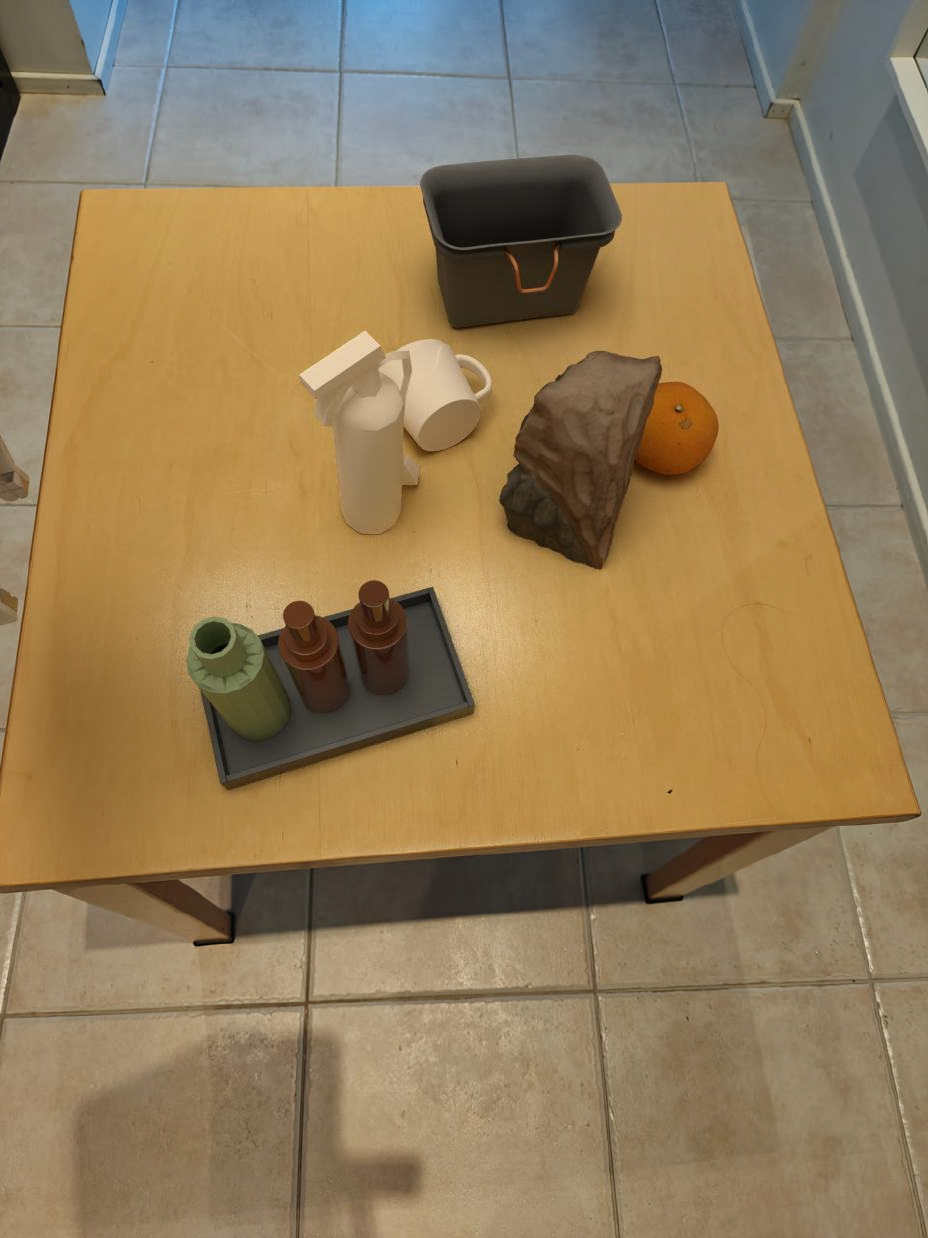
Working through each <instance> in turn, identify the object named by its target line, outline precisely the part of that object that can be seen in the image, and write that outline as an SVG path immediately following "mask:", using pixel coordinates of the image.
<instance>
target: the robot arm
mask: <svg viewBox="0 0 928 1238" xmlns="http://www.w3.org/2000/svg"><path fill="white" fill-rule="evenodd" d="M15 463H16V462H15V460H14V458H13V456H12V454H11V452H10V450H9V449H8V447H7V445H6V443H5V441H4V439H3V437H2V435H1V434H0V499H1V500H3V501H6V502H16V501H17V500H18V499H21V500H22V499H26V498H28V496H29V488H30V476H29V475H28V474H27V473H26V472H25V471H23V469H21V468H20V467H19V466H18V465H17V464H15ZM18 606H19V598H18V597H17V596H15V595H11V592H9V591H8V590H5V589H4V588H3V587H1V588H0V626H4V625H9V624H13V623H16V622H17V620H18Z"/></svg>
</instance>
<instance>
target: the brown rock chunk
mask: <svg viewBox="0 0 928 1238" xmlns="http://www.w3.org/2000/svg"><path fill="white" fill-rule="evenodd" d="M662 373H663V367H662V364H661V358H660V356H659V355H654V356H649V357H646V358H637V357H633V356H628V355H622V354H617V353H613V352H610V351H607V350H594V351H591V352H589V353H587V354H586V355H585V357H584V358H583V359H581V360H580V361H579V362H577V363H573V364H570V365H568V366H567V367H566V369H565V370H564V371H563V373H561V374H558V375H557V376H556V378H555V379H554V380H553V381H549V382H547V383H545V385H544V386H542V388H541V389H539V391H537V393H536V394H534V398H533V405H532V407H531V409H529V411H528V413H527V414H525V416H524V417H523V419H522V422H521V424H520V426H519V429H518V430H519V431H518V433H517V435H516V437H515V442H514V447H513V448H514V449H513V454H512V457H513V458H515V461H516V462H517V464H516V465H515V466H514V467H513V468H512V469H511V470H510V471H509V472H508V473H507V474H506V479H507V481H506V483H505V484H504V485H503V486H502V487H501V491H500V495H499V499H498V502H499V504H500V505H501V507H502V508H503V512H504V515H505V517H506V520H507V523H506V527H507V529H508V531H510V533H512V534H514V535H515V536H517V537H520V538H522V539H526V540H531V541H532V542H533V541H534V542H535V544H536V545H537V546H538V547H541V548H548V549H550V550H551V551H553V552H556V553H559V554H561V555H562V556H564V557H565V558H566V559H567V560H569V561H572V562H575V563H578V564H583V565H584V564H585V566H589V567H590V568H594V569H595V570H602V569H603V563H604V562H605V560H606V559H607V558H608V556H609V555H610V554H609V553H610V549H611V547H612V543H613V539H614V535H615V529H616V524H617V522H618V519H619V515H620V513H621V510H622V506H623V504H624V500H625V497H626V495H627V492H628V489H629V485H630V482H631V477H632V476H633V471H634V467H635V461H636V460H635V457H636V453H637V450H638V447H639V445H640V442H641V439H642V436H643V433H644V430H645V426H646V421H647V418H648V416H649V414H650V412H651V410H652V407H653V404H654V395H655V392H656V389H657V387H658V383H660V381H661V378H662V375H663V374H662Z"/></svg>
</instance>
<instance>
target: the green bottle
mask: <svg viewBox="0 0 928 1238" xmlns="http://www.w3.org/2000/svg"><path fill="white" fill-rule="evenodd" d="M188 641H189V646H188V647H189V648H188V651H187V655H186V660H185V662H186V667H187V673H188V675H189V677H190V678H191V680H192V681H193V682H194V684H195V685H196V686H197V687H198V689H199V691H200V690H201V691H202V692H203V693H204V695H205V696H206V697H207V698H208V700H209V701H210V702H211V703H212V705H213V706H214V707H215V708H216V710H217V711H218V712H219V713H220V715H221V716H222V717H223V718H224V720H225V721H226V722H227V723H228V724H229V726H230V727H231V728H232V729H233V731H234V732H235V733H236V734H238V735H239V736H241V737H243V738H245V739H248V740H253V741H258V740H265V739H268V738H270V737H272V736H274V735H276V734H277V733H278V732H280V731H281V730H282V729H283V728H284V726H285V725H286V723H287V721H288V719H289V716H290V712H291V704H290V700H289V697H288V694H287V692H286V690H285V688H284V686H283V684H282V682H281V680H280V678H279V676H278V674H277V672H276V670H275V668H274V666H273V664H272V662H271V660H270V658H269V656H268V654H267V652H266V650H265V648H264V646H263V644H262V642H261V640H260V638H259V637H258V636H257V634H256V632H255V631H254V630H253V629H251V628H250V627H248V626H246V625H244V624H242V623H238V622H230V621H229V620H228V619H227V618H224V617H219V616H211V617H206V618H204V619H201V620H200V621H199V622H198V623H197V624H195V625H194V626H193V628H192V629H191V632H190V634H189V638H188ZM201 691H200V692H201Z"/></svg>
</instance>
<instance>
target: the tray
mask: <svg viewBox="0 0 928 1238" xmlns="http://www.w3.org/2000/svg"><path fill="white" fill-rule="evenodd" d="M391 599H393V600H395V601H396V602H397V603H399V604H400V605H401V607H402V608H403V609H404V611H405V613H406V616H407V626H408V644H409V663H410V675H409V679H408V681H407V683H406V684H405V686H404V687H403V688H402V689H401V690H399V691H398V692H396V693H393V694H390V695H378V694H375V693H372V692H370V691H369V690H368V689H366V688H365V687H364V685H363V684H362V682H361V680H360V676H359V672H358V667H357V663H356V659H355V654H354V650H353V645H352V641H351V637H350V632H349V628H348V620H349V616H350V613H351V611H352V610H353V608H351V609H347V610H343V611H340V612H336V613H332V614H329V615H326V616H322V617H323V618H325V619H327V620H328V621H329V622H330V623H331V624H332V625H333V626H334V627H335V629H336V631H337V634H338V637H339V641H340V645H341V649H342V653H343V656H344V660H345V664H346V668H347V672H348V675H349V679H350V683H351V692H350V696H349V698H348V700H347V701H346V703H345V704H344V705H343V706H342V707H341V708H339V709H338V710H336V711H334V712H330V713H317V712H314V711H312V710H310V709H308V708H307V707H306V706H305V705H304V704H303V702H302V700H301V698H300V696H299V694H298V692H297V689H296V687H295V685H294V683H293V681H292V679H291V676H290V674H289V672H288V670H287V668H286V666H285V663H284V661H283V659H282V657H281V655H280V652H279V648H278V640H279V636H280V634H281V632H282V630H283V628H284V627H283V628H282V627H281V628H278V629H276V630H272V631H268V632H265V633H261V634H258V635H257V634H256V635H257V636H258V637H259V638H260V640H261V642H262V644H263V646H264V648H265V650H266V652H267V654H268V656H269V658H270V660H271V662H272V664H273V666H274V668H275V670H276V672H277V674H278V676H279V678H280V680H281V682H282V684H283V686H284V688H285V690H286V692H287V694H288V697H289V700H290V704H291V712H290V716H289V719H288V721H287V723H286V725H285V726H284V728H283V729H282V730H281V731H280V732H278V733H277V734H276V735H274V736H272V737H270V738H268V739H265V740H258V741H253V740H248V739H245V738H243V737H241V736H239V735H238V734H236V733H235V732H234V731H233V729H232V728H231V727H230V726H229V724H228V723H227V722H226V721H225V720H224V718H223V717H222V716H221V715H220V713H219V712H218V711H217V710H216V708H215V707H214V706H213V705H212V703H211V702H210V701H209V700H208V698H207V697H206V696H205V695H204V693H203V692H202V691H201V690H200V689H199V691H200V695H201V700H202V704H203V710H204V714H205V718H206V723H207V728H208V732H209V738H210V743H211V747H212V751H213V756H214V761H215V765H216V770H217V776H218V780H219V784H220V785H221V786H222V787H223V788H224V789H225V790H227V791H229V790H233V789H236V788H240V787H243V786H246V785H249V784H253V783H256V782H259V781H262V780H265V779H268V778H272V777H275V776H278V775H281V774H285V773H288V772H292V771H295V770H297V769H300V768H304V767H306V766H310V765H313V764H317V763H320V762H323V761H327V760H330V759H332V758H336V757H339V756H342V755H345V754H349V753H352V752H355V751H359V750H361V749H362V750H363V749H365V748H367V747H371V746H374V745H375V746H376V745H377V744H381V743H385V742H388V741H391V740H394V739H396V738H400V737H403V736H407V735H410V734H412V733H416V732H419V731H423V730H426V729H430V728H432V727H435V726H439V725H442V724H446V723H448V722H452V721H455V720H458V719H461V718H465V717H469V716H471V715H474V712H475V708H476V707H475V706H476V704H475V701H474V697H473V695H472V692H471V689H470V687H469V683H468V680H467V678H466V676H465V672H464V670H463V667H462V664H461V661H460V659H459V656H458V655H459V654H458V652H457V650H456V647H455V644H454V642H453V638H452V636H451V633H450V629H449V627H448V625H447V621H446V619H445V616H444V613H443V611H442V608H441V605H440V602H439V599H438V596H437V594H436V591H435V588H434V586H430V587H426V588H423V589H419V590H415V591H410V592H408V593H405V594H404V593H403V594H401V595H397V596H394V597H391Z"/></svg>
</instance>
